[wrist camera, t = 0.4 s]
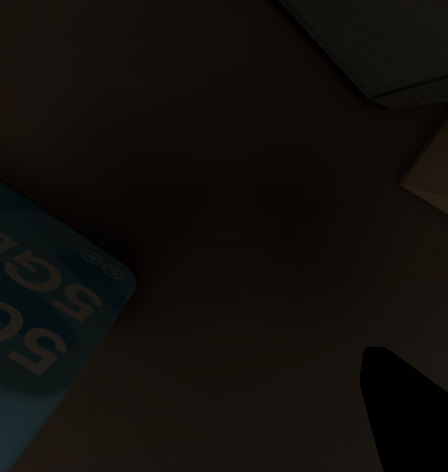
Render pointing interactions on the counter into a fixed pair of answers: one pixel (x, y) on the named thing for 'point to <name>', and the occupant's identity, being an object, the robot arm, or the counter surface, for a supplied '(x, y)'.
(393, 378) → the robot arm
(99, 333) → the data package
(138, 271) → the counter surface
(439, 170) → the carton
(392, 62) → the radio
